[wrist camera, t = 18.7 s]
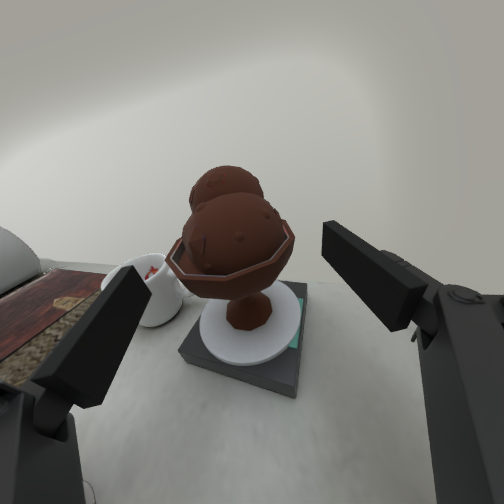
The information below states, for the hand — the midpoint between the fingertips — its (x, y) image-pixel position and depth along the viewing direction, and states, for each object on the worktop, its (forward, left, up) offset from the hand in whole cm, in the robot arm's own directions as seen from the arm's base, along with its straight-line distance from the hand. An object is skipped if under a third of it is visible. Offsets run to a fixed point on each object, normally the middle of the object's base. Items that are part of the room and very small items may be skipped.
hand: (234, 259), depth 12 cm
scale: (+3, -2, -13) cm, 13 cm away
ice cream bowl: (+3, -2, -10) cm, 10 cm away
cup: (+14, +5, -13) cm, 20 cm away
